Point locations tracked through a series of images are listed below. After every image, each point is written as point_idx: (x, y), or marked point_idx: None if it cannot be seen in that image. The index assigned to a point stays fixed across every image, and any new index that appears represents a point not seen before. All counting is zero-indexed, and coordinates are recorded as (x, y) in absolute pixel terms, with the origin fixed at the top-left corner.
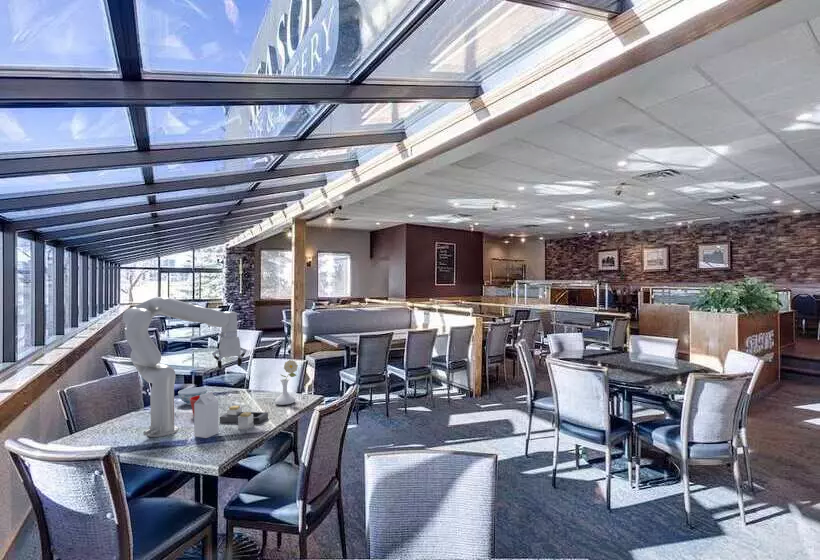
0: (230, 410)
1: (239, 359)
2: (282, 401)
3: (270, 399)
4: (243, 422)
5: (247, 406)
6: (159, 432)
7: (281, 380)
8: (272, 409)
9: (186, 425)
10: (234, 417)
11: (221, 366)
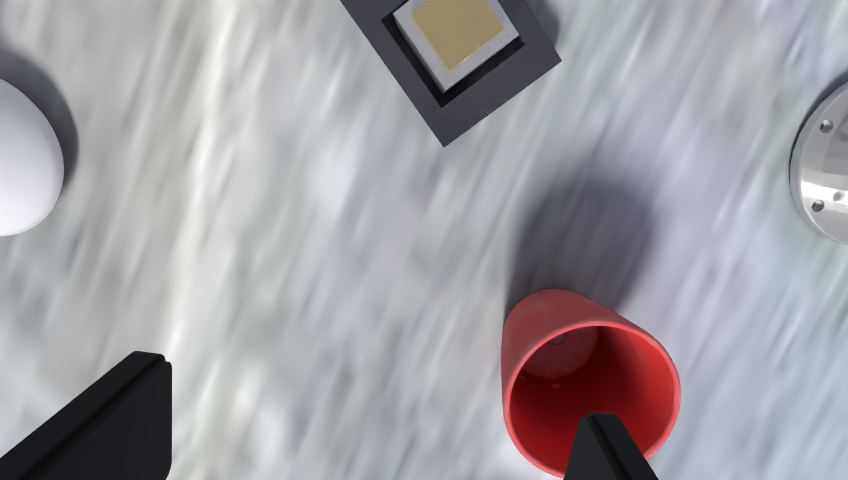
0: (500, 6)
1: (30, 478)
2: (6, 100)
3: (57, 346)
4: None
5: (249, 304)
6: None
7: None
8: (132, 84)
9: (713, 193)
10: None
11: (600, 439)
